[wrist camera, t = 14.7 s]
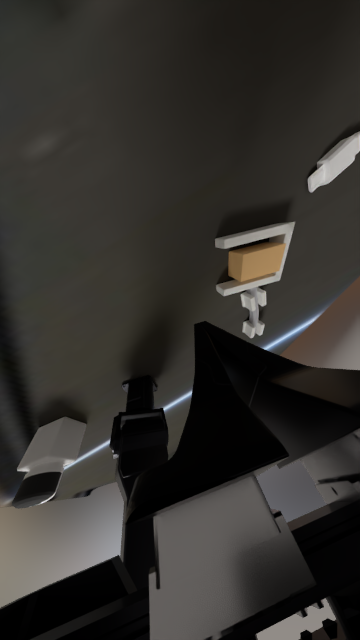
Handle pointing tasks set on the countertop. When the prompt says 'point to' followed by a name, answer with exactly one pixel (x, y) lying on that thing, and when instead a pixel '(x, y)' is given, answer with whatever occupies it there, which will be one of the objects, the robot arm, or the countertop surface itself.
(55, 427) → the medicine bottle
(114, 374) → the countertop surface
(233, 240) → the end holder
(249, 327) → the clip
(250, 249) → the tan rectangular block
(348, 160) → the charging cable
